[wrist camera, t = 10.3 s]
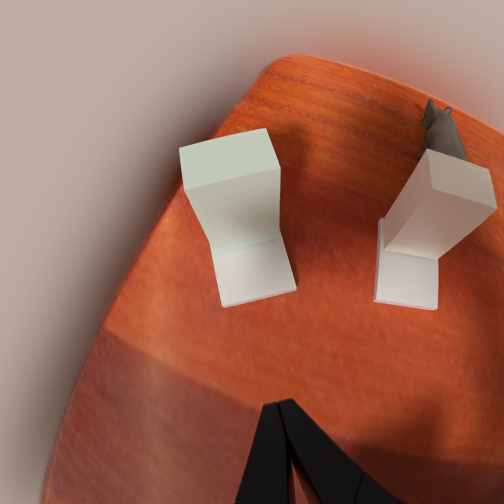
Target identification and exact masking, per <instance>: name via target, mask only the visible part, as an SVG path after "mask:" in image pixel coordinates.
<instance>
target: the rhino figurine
mask: <svg viewBox="0 0 504 504" xmlns="http://www.w3.org/2000/svg"><path fill="white" fill-rule="evenodd" d="M430 108H431V110H430ZM451 111H452V108H451V107H447V108H446V109H445V110H444V111H443V110H442V109H439V108H437V107H436V106H435V105H434V103H433V102H432V100H431V99H429V101H428V102H427V105H426V110H425V115H424V118H423V119H422V120H421V121H422V123H421V124H422V125H423V127H424V128H425V129H426V130H427V131H426V133H425V136H424V152H423V151H420V152H418V153H417V158H418V159H419V160H421V158H422V156H423V154H424V153H425V151H426V149H430V150H433V151H437V152H440V153H443V154H446V155H449V156H452V157H455V158H458V159H461V160H464V161H467V158H466V155H465V152H464V149H463V145H462V141H461V138H460V135H459V133H458V130H457V128H456V125H455V122H454V120H453V118H452V117H451V116H450V115H449V114H451ZM467 162H468V161H467Z"/></svg>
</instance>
